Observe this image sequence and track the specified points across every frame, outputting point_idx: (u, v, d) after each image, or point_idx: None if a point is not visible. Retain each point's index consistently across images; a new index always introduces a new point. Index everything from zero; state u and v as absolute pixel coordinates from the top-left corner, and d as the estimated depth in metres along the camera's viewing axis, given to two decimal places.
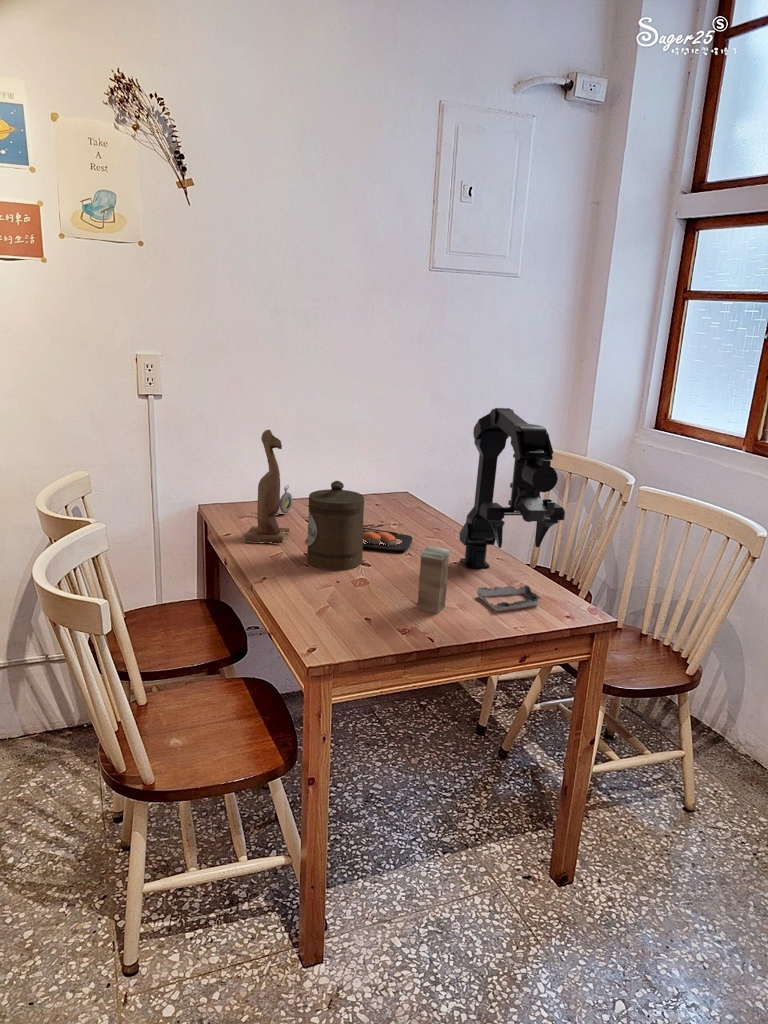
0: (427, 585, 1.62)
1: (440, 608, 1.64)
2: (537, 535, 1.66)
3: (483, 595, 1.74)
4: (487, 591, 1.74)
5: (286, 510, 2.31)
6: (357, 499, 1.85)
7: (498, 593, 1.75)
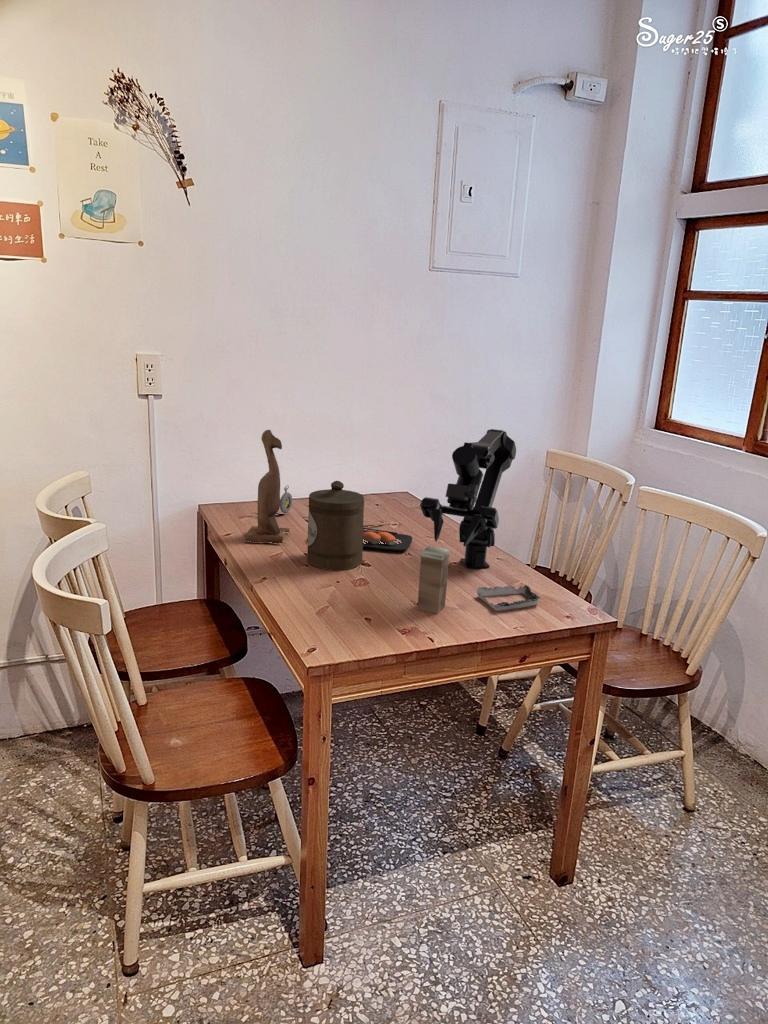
0: (427, 585, 1.62)
1: (440, 608, 1.64)
2: None
3: (483, 595, 1.74)
4: (487, 591, 1.74)
5: (286, 510, 2.31)
6: (357, 499, 1.85)
7: (497, 593, 1.75)
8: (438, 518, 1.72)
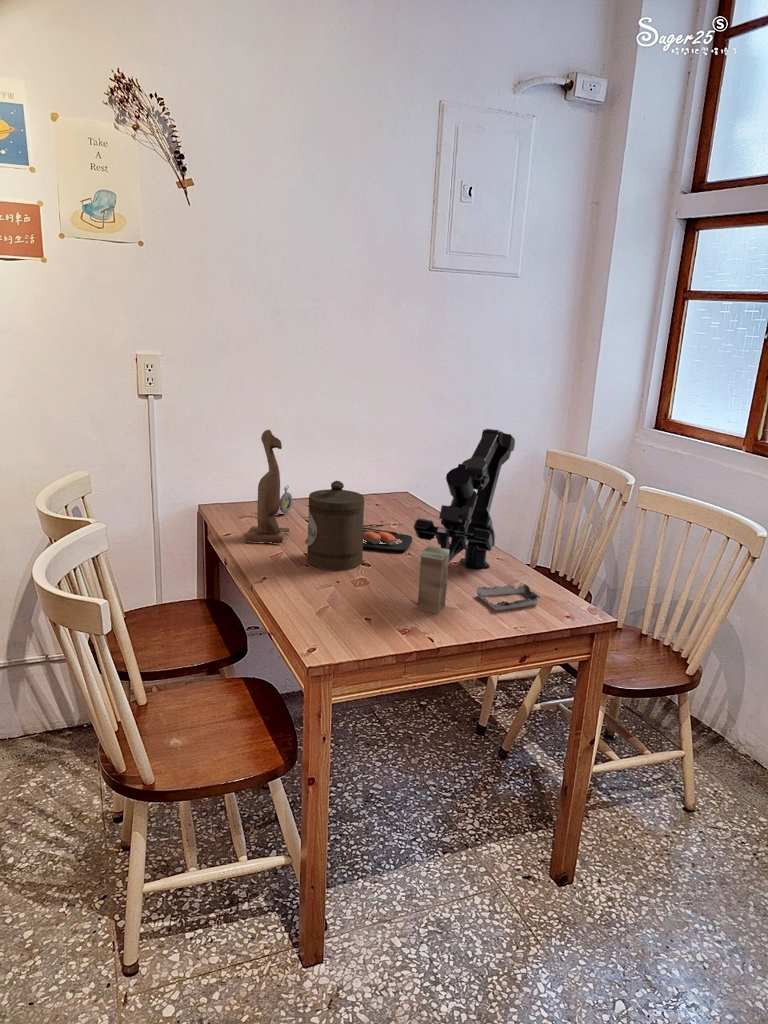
0: (427, 585, 1.62)
1: (440, 608, 1.64)
2: None
3: (482, 594, 1.74)
4: (487, 591, 1.75)
5: (286, 510, 2.31)
6: (357, 499, 1.85)
7: (497, 592, 1.75)
8: (445, 542, 1.70)
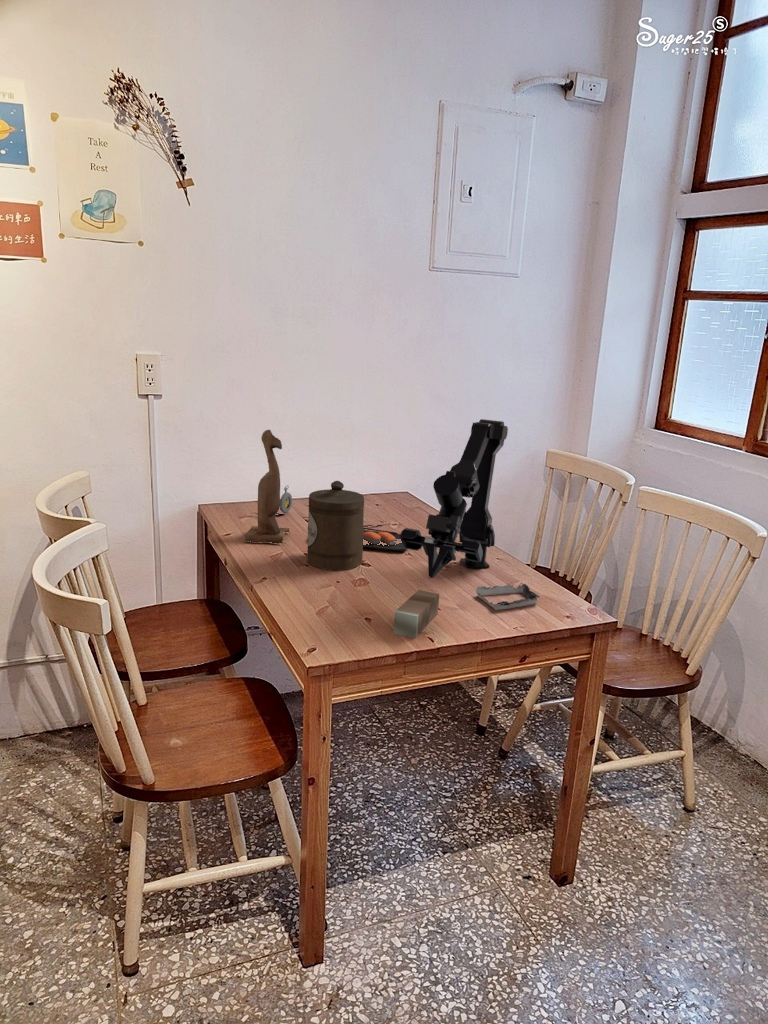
0: None
1: (437, 608, 1.61)
2: None
3: (482, 594, 1.75)
4: (486, 590, 1.75)
5: (286, 510, 2.31)
6: (357, 499, 1.85)
7: (496, 592, 1.76)
8: (432, 553, 1.62)
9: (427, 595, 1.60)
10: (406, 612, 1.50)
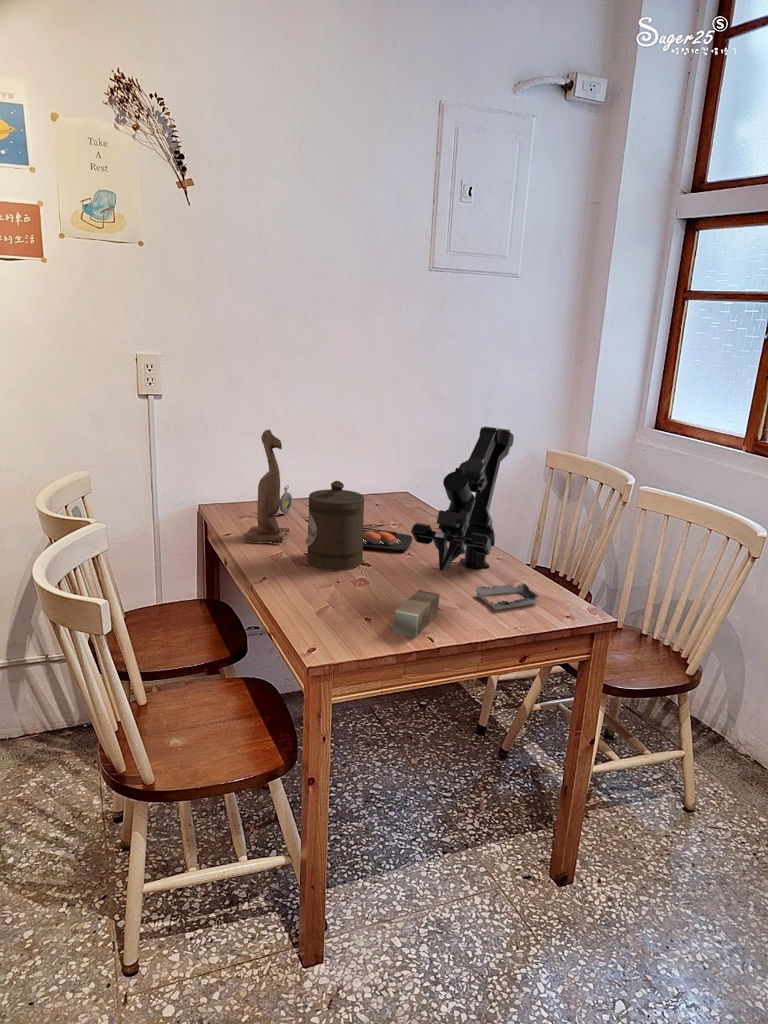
0: None
1: (437, 608, 1.61)
2: None
3: (482, 594, 1.75)
4: (486, 590, 1.75)
5: (286, 510, 2.31)
6: (357, 499, 1.85)
7: (496, 592, 1.76)
8: (443, 547, 1.69)
9: (427, 595, 1.60)
10: (406, 612, 1.50)
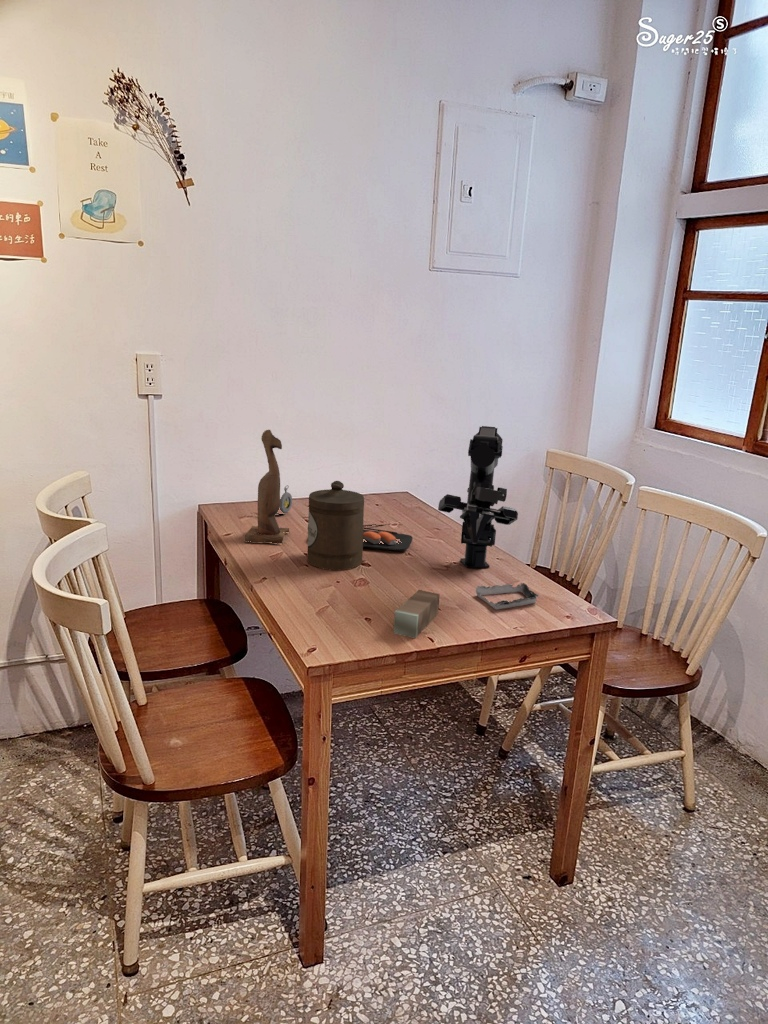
0: None
1: (437, 608, 1.61)
2: None
3: (481, 594, 1.75)
4: (486, 590, 1.75)
5: (286, 510, 2.31)
6: (357, 499, 1.85)
7: (496, 591, 1.76)
8: (475, 520, 1.72)
9: (427, 595, 1.60)
10: (406, 612, 1.50)
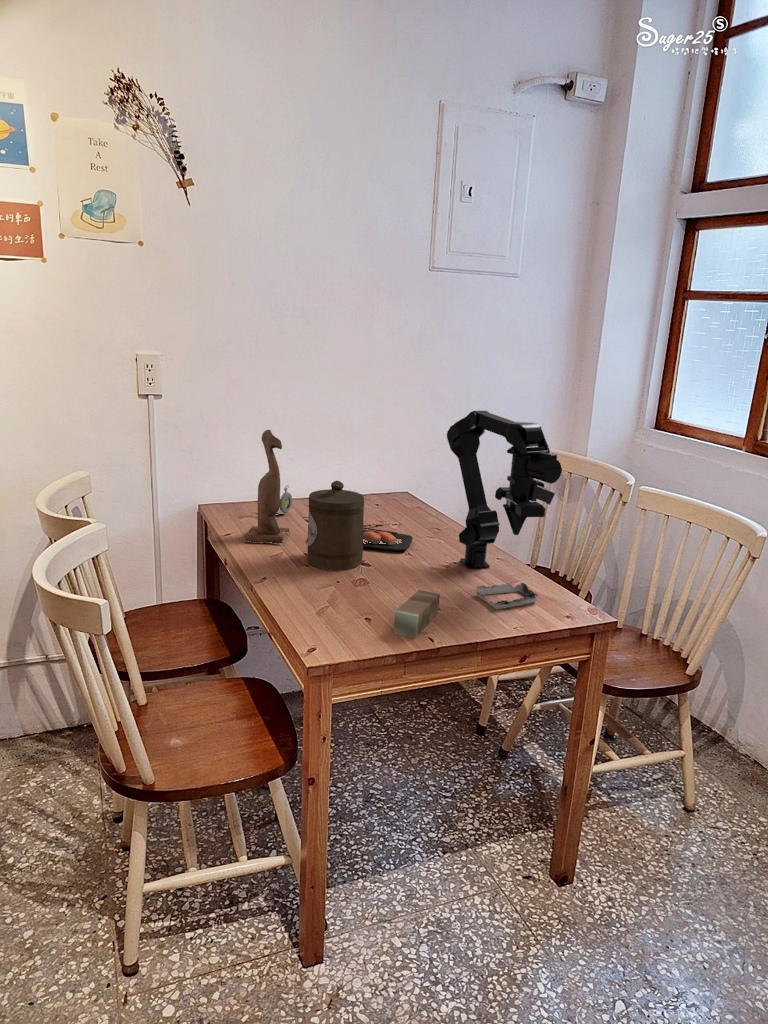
0: None
1: (437, 608, 1.61)
2: None
3: (481, 593, 1.75)
4: (485, 589, 1.75)
5: (286, 510, 2.31)
6: (357, 499, 1.85)
7: (495, 591, 1.76)
8: None
9: (427, 595, 1.60)
10: (406, 612, 1.50)
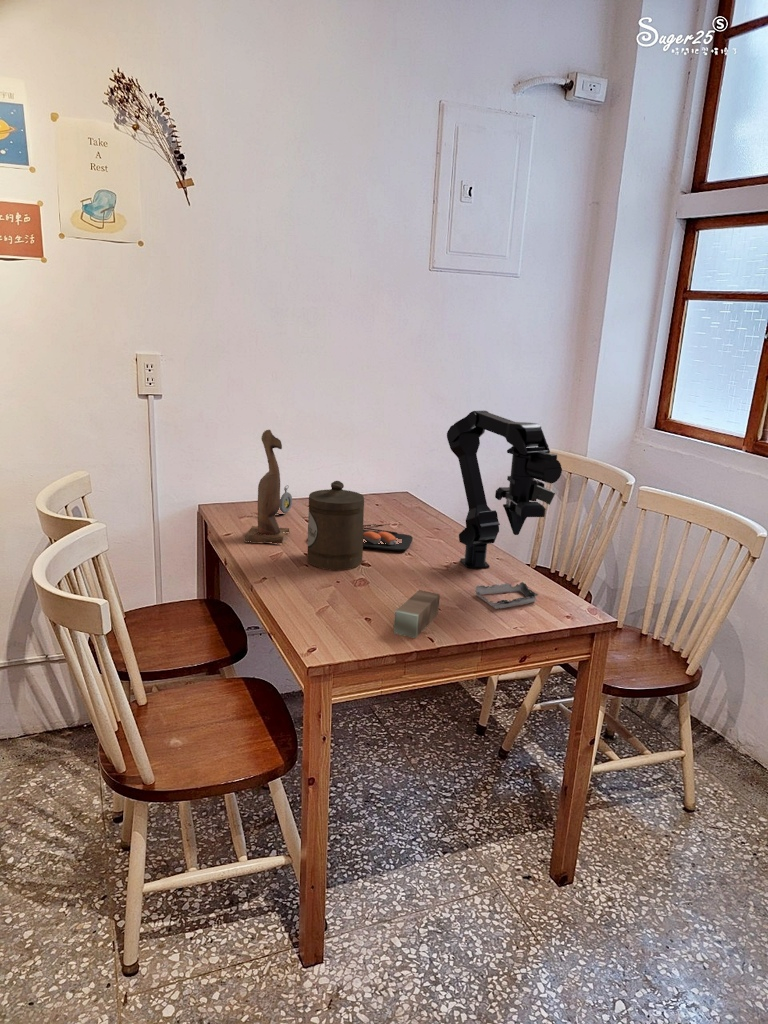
0: None
1: (437, 609, 1.61)
2: None
3: (481, 593, 1.75)
4: (485, 589, 1.75)
5: (286, 510, 2.31)
6: (357, 499, 1.85)
7: (495, 591, 1.76)
8: None
9: (428, 595, 1.60)
10: (406, 612, 1.50)
